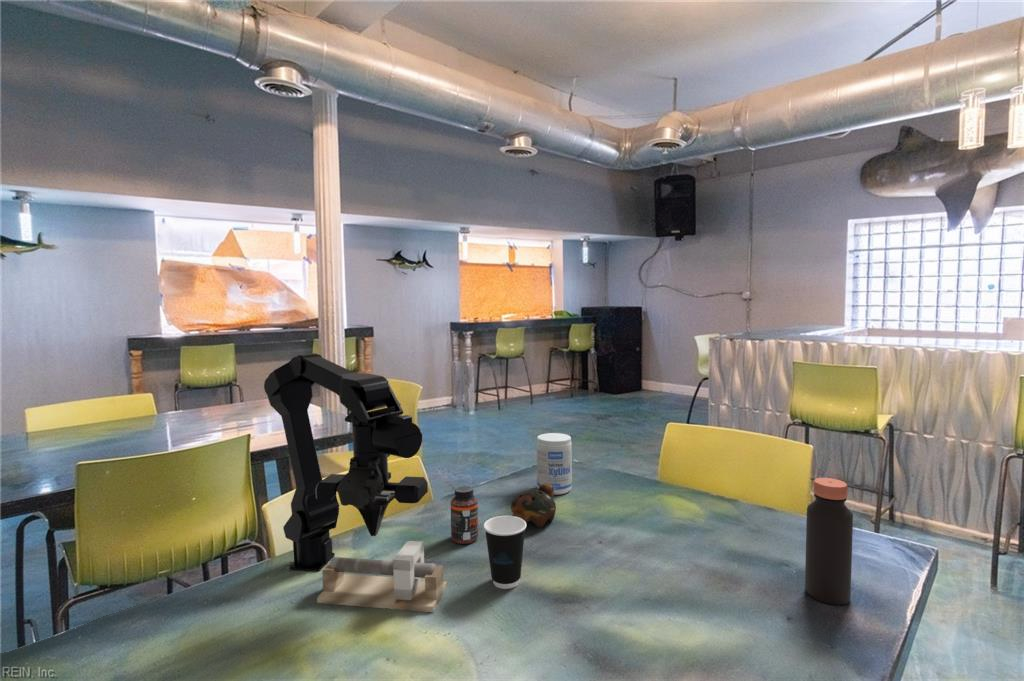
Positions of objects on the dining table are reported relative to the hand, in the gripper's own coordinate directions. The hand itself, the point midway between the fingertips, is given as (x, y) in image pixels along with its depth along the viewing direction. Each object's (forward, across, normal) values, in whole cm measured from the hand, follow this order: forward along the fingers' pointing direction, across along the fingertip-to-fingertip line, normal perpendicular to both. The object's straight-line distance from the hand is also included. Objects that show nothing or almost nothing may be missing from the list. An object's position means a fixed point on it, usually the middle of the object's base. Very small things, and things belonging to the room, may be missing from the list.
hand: (374, 535), depth 92 cm
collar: (+10, +6, 0) cm, 11 cm away
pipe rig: (+11, +1, 0) cm, 11 cm away
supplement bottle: (+11, +10, +23) cm, 28 cm away
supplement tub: (+11, +27, +55) cm, 62 cm away
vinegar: (+12, +78, +10) cm, 80 cm away
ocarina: (+11, +24, +33) cm, 43 cm away
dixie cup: (+11, +22, +7) cm, 26 cm away
